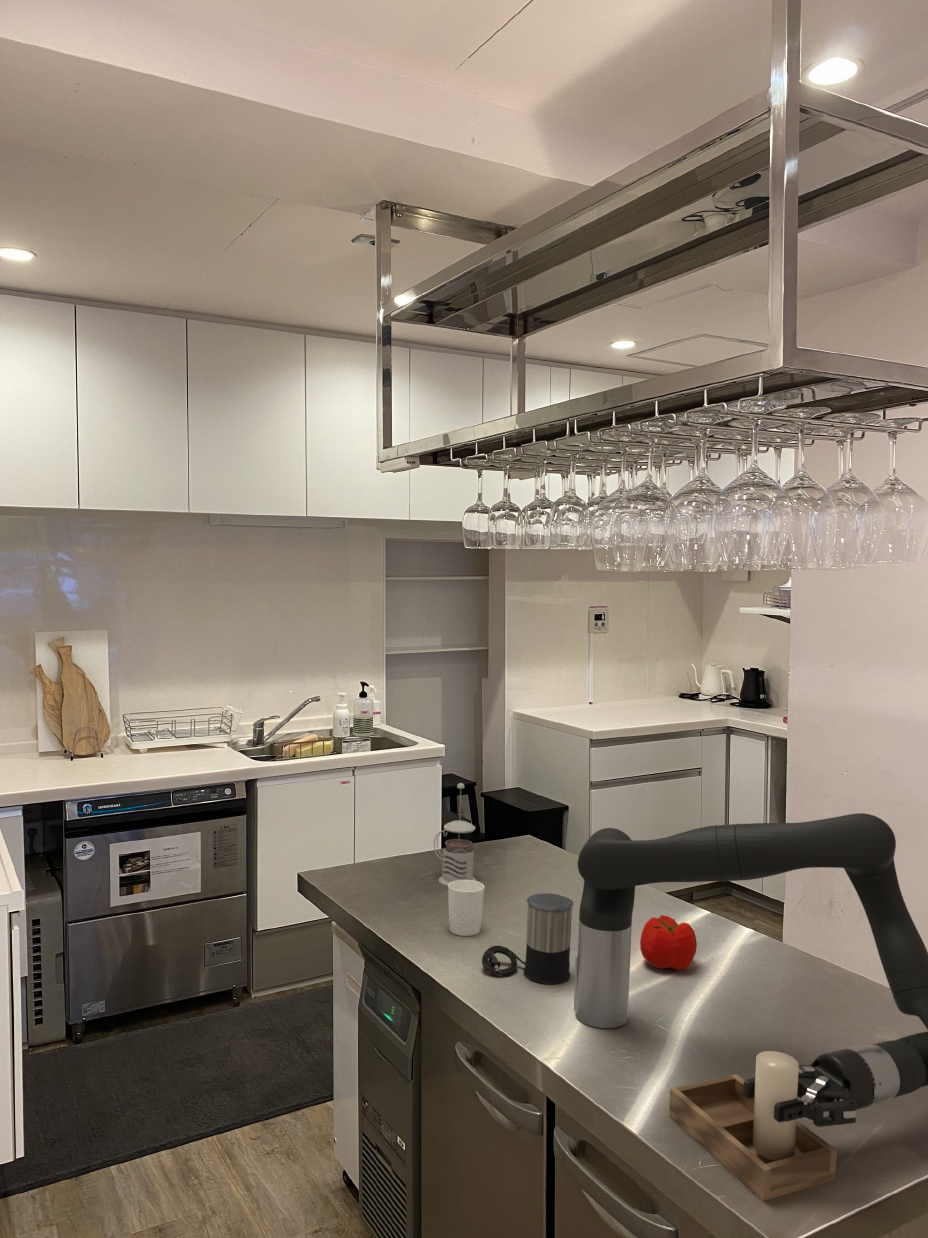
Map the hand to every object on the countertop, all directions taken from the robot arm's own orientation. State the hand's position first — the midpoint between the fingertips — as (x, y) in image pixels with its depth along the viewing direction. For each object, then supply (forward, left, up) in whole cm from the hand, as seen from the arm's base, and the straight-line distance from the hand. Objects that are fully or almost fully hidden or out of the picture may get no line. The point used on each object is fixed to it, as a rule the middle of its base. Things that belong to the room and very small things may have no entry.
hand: (760, 1101), depth 125 cm
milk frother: (-66, -1, -10) cm, 66 cm away
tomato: (-60, +28, -10) cm, 67 cm away
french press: (-122, +7, -10) cm, 122 cm away
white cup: (-90, -4, -10) cm, 90 cm away
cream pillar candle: (0, +3, -7) cm, 7 cm away
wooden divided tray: (-5, +2, -9) cm, 11 cm away
